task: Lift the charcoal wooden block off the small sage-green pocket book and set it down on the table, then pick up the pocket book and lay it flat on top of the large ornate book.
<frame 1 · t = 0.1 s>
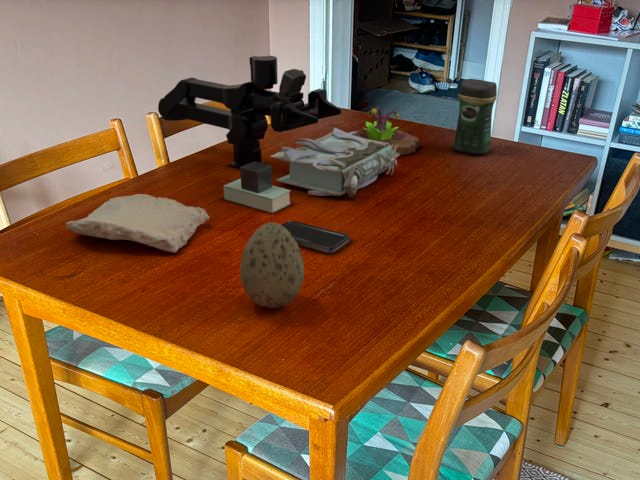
hand: (329, 116, 169), 17 cm above the table, tool horizontal, fingers open, 9 cm apart
decorative egg: (273, 305, 129), on the table
phone: (309, 239, 152), on the table
coffee jar: (471, 151, 203), on the table
plant: (377, 148, 204), on the table
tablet: (137, 235, 153), on the table
block: (256, 188, 167), point 3 cm above the table, touching pocket book
ornate book: (338, 178, 183), on the table
pocket book: (257, 201, 169), on the table, touching block
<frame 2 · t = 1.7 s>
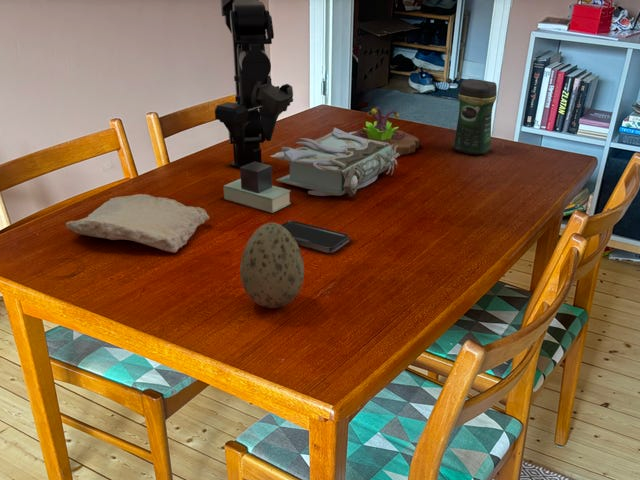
hand: (255, 145, 162), 13 cm above the table, tool pointing down, fingers open, 9 cm apart
nothing on the table moved.
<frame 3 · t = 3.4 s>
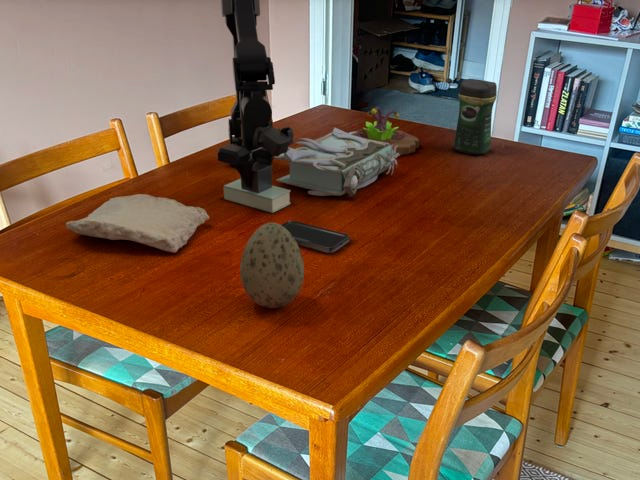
hand: (256, 184, 167), 4 cm above the table, tool pointing down, fingers closed on block, 5 cm apart
block: (256, 188, 167), point 3 cm above the table, touching gripper, pocket book
everything else where it was.
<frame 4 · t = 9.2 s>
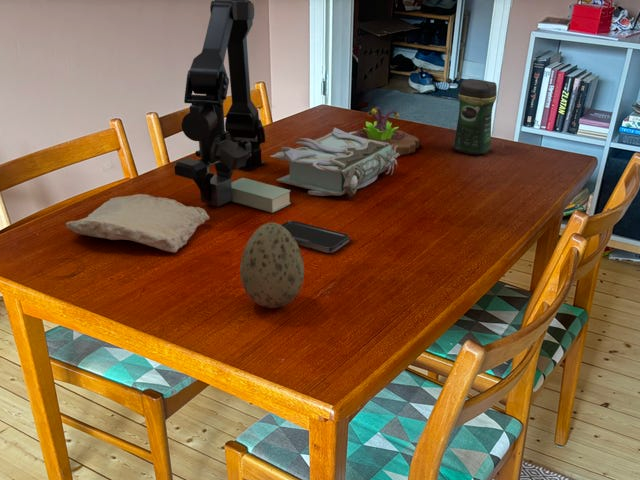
hand: (216, 197, 166), 2 cm above the table, tool pointing down, fingers closed on block, 5 cm apart
block: (216, 201, 167), point 1 cm above the table, touching gripper
pocket book: (257, 201, 169), on the table, touching gripper
everything else where it was.
when the fingers open (2 cm above the table, at t = 10.3 s): block stays where it is, on the table.
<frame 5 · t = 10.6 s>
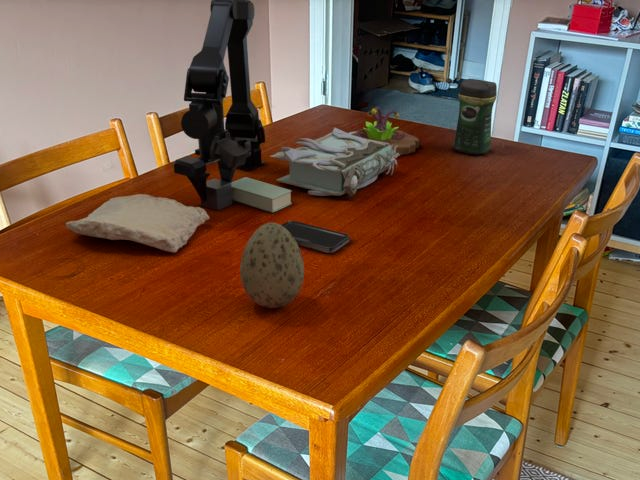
hand: (215, 196, 166), 2 cm above the table, tool pointing down, fingers open, 7 cm apart
block: (216, 204, 167), on the table
everything else where it was.
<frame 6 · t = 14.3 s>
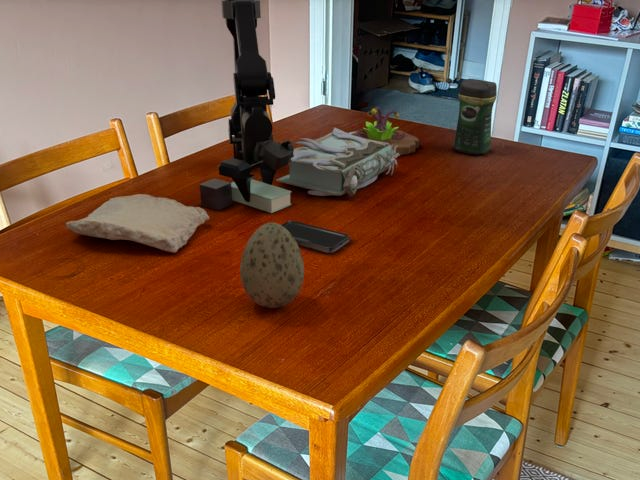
hand: (257, 197, 169), 1 cm above the table, tool pointing down, fingers closed on pocket book, 7 cm apart
pocket book: (258, 201, 169), on the table, touching gripper
everything else where it was.
when the fingers open (9 cm above the table, at t = 19.4 s): pocket book stays where it is, resting on ornate book.
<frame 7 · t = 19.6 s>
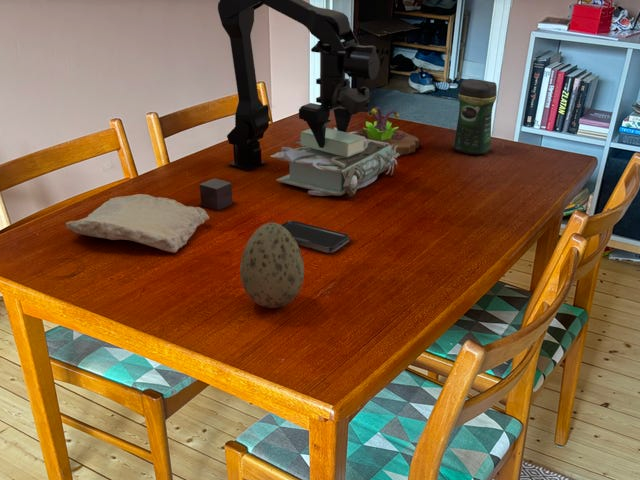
hand: (331, 143, 176), 9 cm above the table, tool pointing down, fingers open, 8 cm apart
ornate book: (338, 178, 183), on the table, touching pocket book
pocket book: (332, 147, 176), point 8 cm above the table, touching ornate book
everything else where it was.
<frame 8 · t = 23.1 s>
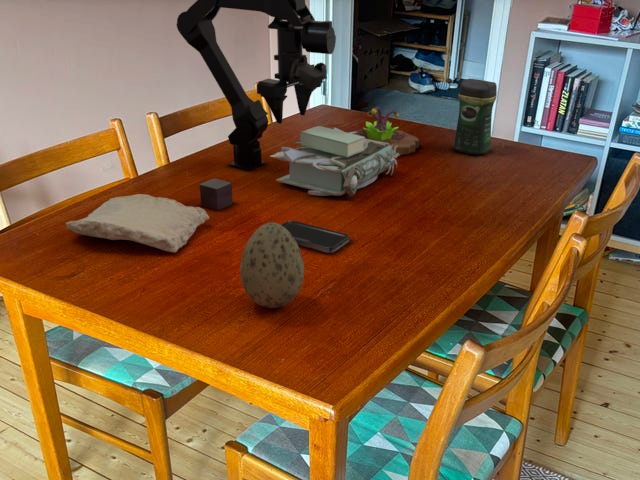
hand: (291, 119, 179), 13 cm above the table, tool pointing down, fingers open, 9 cm apart
nothing on the table moved.
at the end: block inside the target area (0.0 cm from its centre), on the table; pocket book inside the target area on the ornate book (2.0 cm from its centre), point 8.5 cm above the ornate book's base; pocket book tilted 0° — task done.
